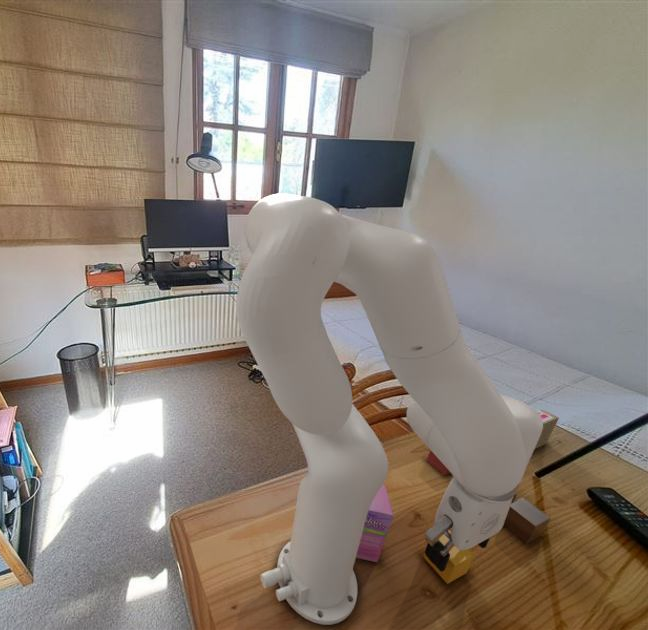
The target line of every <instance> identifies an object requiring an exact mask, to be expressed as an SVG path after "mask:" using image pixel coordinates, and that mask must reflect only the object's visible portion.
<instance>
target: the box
mask: <svg viewBox="0 0 648 630" xmlns="http://www.w3.org/2000/svg"><path fill="white" fill-rule="evenodd" d="M389 498H390V497H389V494H388V490H387V486H386V484H385V482H384V483H383V485H382V487H381V488H380V490H379V491H378V493H377V494H376V496H375V498H374V499H373V501H372V503H371V505H370V508H369V511H368V514H367V517H366V521H365V524H364V529H363V533H362V536H361V540H360V544H359V547H358V551H357V555H356V559H359V560H364V561H369V562H374V563H378V562H379V559H380V556H381V553H382V551H383V547H384V544H385V541H386V539H387V535H388V533H389V530H390V527H391V524H392V521H393V519H394V513H393V509H392V505H391V501H390V499H389Z"/></svg>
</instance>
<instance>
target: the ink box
mask: <svg viewBox="0 0 648 630" xmlns="http://www.w3.org/2000/svg"><path fill="white" fill-rule="evenodd" d="M536 412H537V413H538V414H539V415H540V417H541V419H542V421H543V430H542V433H541V435H540V438H539V440H538V442H537V444H536V447H535V449H534V450H536V449H538V448H540V447H542V446H544V445H546V444H547V442H548V441H549V439H550V438H551V435H552V433H553V431H554V429H555V427H556V425H557V423H558V421H559V419H560V417H559V416H556V415H555V414H552V413H551V412H548V411H546V410H544V409H540V410H538V411H536Z"/></svg>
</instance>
